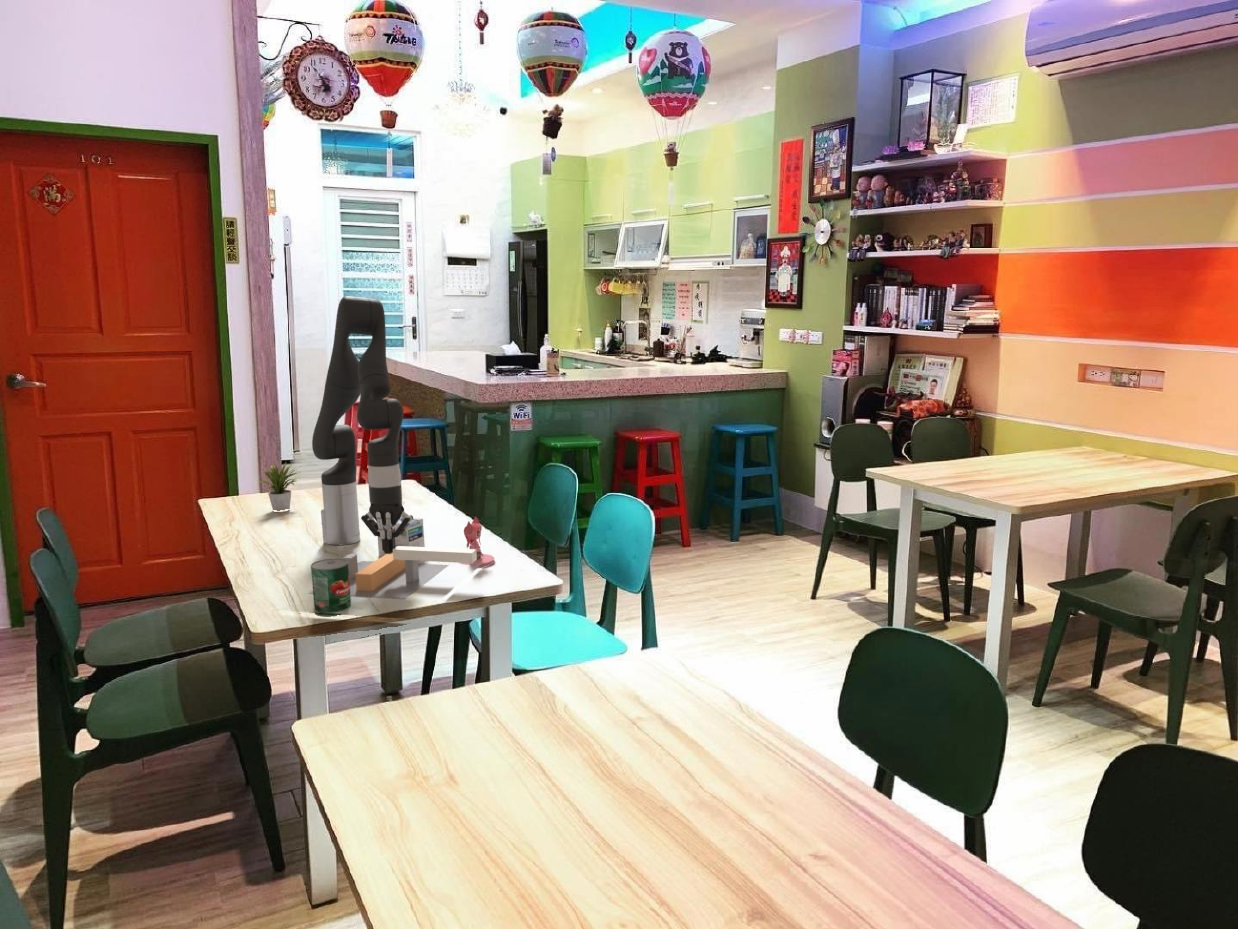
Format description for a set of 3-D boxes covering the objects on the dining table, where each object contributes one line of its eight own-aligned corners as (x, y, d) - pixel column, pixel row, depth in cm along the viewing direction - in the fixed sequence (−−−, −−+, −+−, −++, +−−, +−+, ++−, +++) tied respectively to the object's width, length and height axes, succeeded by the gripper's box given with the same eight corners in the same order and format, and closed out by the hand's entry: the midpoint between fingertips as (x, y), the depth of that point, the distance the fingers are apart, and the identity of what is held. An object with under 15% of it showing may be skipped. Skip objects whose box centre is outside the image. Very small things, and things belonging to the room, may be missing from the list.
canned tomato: (349, 615, 196) (345, 567, 194) (311, 618, 195) (307, 569, 193) (353, 603, 204) (350, 557, 202) (317, 605, 202) (313, 559, 200)
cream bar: (393, 559, 215) (392, 549, 214) (398, 555, 217) (398, 546, 217) (472, 563, 211) (471, 553, 210) (476, 559, 213) (476, 549, 213)
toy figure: (487, 569, 227) (485, 523, 225) (451, 567, 229) (448, 522, 227) (499, 558, 237) (497, 514, 234) (464, 556, 239) (462, 513, 236)
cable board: (308, 597, 208) (306, 571, 207) (361, 564, 233) (360, 541, 232) (405, 603, 203) (403, 576, 202) (448, 568, 228) (447, 545, 227)
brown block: (356, 590, 210) (355, 573, 209) (390, 567, 227) (389, 552, 226) (372, 591, 209) (371, 574, 208) (405, 568, 226) (404, 552, 225)
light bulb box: (426, 557, 239) (424, 518, 237) (410, 564, 233) (408, 524, 231) (394, 552, 243) (391, 514, 241) (377, 559, 237) (375, 520, 235)
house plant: (294, 516, 284) (290, 466, 281) (251, 517, 285) (246, 466, 282) (310, 506, 298) (306, 457, 295) (269, 506, 299) (264, 458, 296)
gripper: (351, 485, 210) (356, 556, 214) (403, 487, 208) (408, 558, 211) (366, 478, 218) (371, 547, 221) (417, 480, 215) (421, 550, 218)
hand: (389, 553), depth 216 cm, fingers closed
